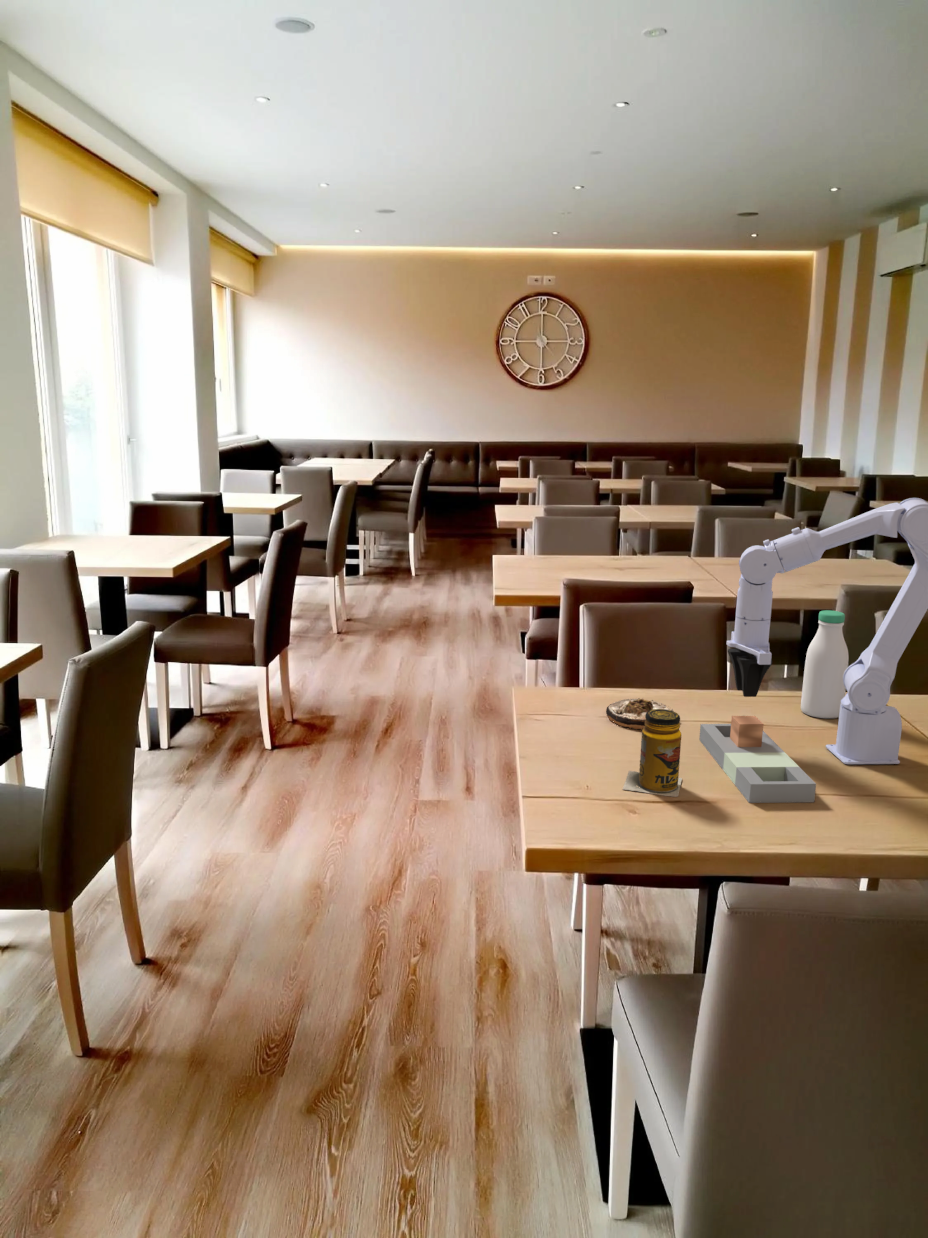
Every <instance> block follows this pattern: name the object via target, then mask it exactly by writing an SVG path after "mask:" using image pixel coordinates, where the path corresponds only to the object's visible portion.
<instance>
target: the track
mask: <svg viewBox="0 0 928 1238" xmlns="http://www.w3.org/2000/svg"><path fill="white" fill-rule="evenodd" d="M730 731H731V723H700V729H699V742H700V743H701V744H702V745H703V746H704V748H705V749H706V751H708V753H709V754H710V756H711V757H712V758H713V759H714V760H715V761H716V763H717V765H719V767H720V768H721V770H723V772H724V773H725V774H726V776H727V777H728V778H729V779H730V781H731V782H732V783H733V784H734V785H735V787H736V788H737V789H738V791H739V792H740V793H741V795H742V796H743V797H744V798H745V800H746V801H747V802H748V803H749V804H753V803H754V804H756V803H758V804H759V803H760V804H761V803H770V804H771V803H773V804H774V803H815V798H816V788H817V783H816V782H815V781H814V780H813V779H812V778H811V777H810V776H809V774H807V773H806V772H805V771H804V770H803V769H802V768H801V767H800V766H799V765H798V764H797V763H796V762H795V761H794V760H793V759H792V758H791V757H790V756H789V755H788V754H787V753H786V752H785V751H784V750H783V749H782V748H781V747H780V746H779V745H778V744H777V743H776V742H775V741H774V740H773V739H772V737H770V736H769V735H768V734H767V733H766V731H764V730H763V735H762V746H761V747H737V746H736V745H735V743H734V742H733V741H732V740H731V739H730Z"/></svg>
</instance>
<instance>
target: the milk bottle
mask: <svg viewBox="0 0 928 1238" xmlns="http://www.w3.org/2000/svg"><path fill="white" fill-rule="evenodd" d="M845 618H846V614H845V613H843V612H841V611H837V610H829V609H828V610H827V609H826V610H821V611H819V613H818V622H817V623H818V628H817V630H816V633H815V635H814V637H813V639H812V640H811V642H810V643H809V645H808V648H807V651H806V653H805V655H806V657H805V661H804V671H803V679H802V680H803V682H802V689H801V701H800V710H801V712H802V713H803V714H805V715H807V716H811V717H814V718H818V719H827V720H828V719H837V718H838V719H839V713H840V704H841V700H842V699H843V698H844V697H845V695H846V691H847V689H846V688H845V686H844V683H843V675H844V672H845V670H846V669H847V668H848V667H849V649H848V646H847V643H846V641H845V638H844V633H843V626H844V625H845Z"/></svg>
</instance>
